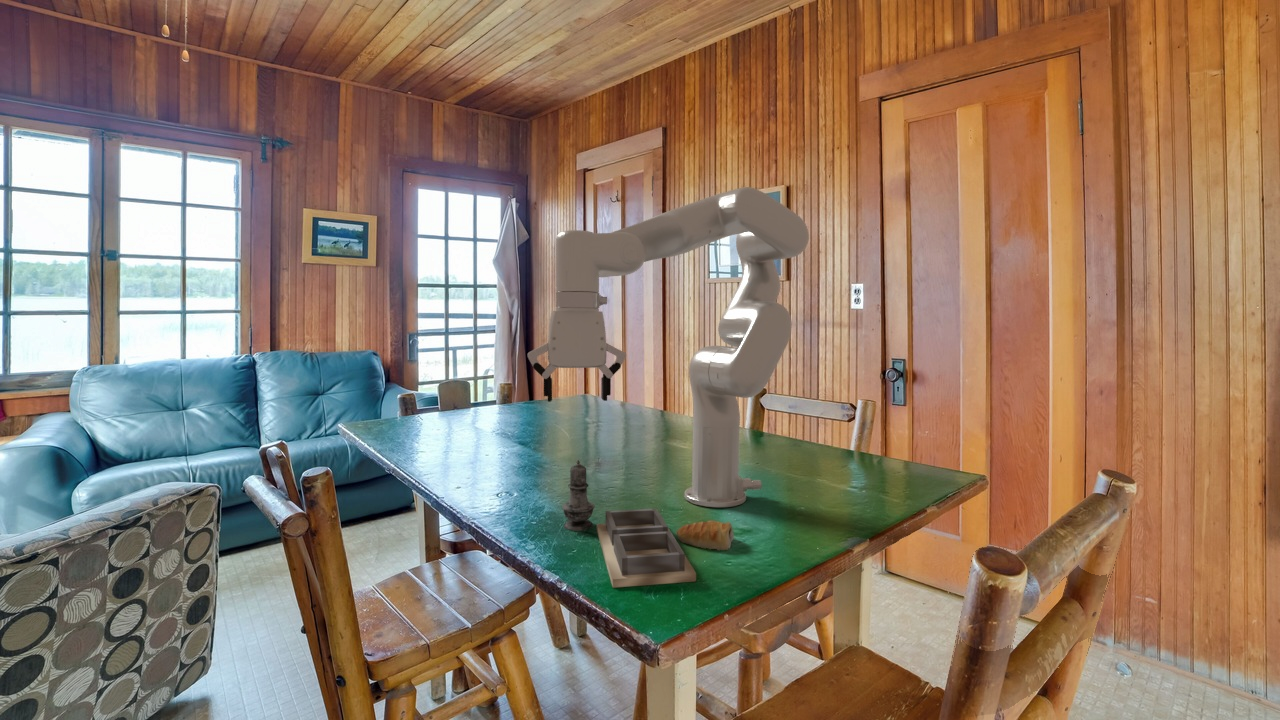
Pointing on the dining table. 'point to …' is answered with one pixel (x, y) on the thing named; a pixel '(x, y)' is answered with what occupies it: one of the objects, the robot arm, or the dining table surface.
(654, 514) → the collar board
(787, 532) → the dining table surface
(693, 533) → the pastry
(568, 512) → the salt shaker
